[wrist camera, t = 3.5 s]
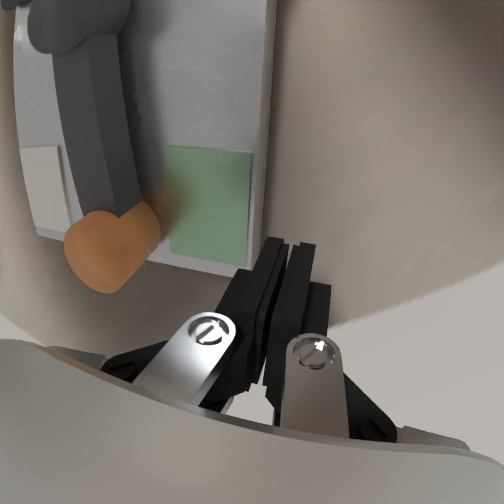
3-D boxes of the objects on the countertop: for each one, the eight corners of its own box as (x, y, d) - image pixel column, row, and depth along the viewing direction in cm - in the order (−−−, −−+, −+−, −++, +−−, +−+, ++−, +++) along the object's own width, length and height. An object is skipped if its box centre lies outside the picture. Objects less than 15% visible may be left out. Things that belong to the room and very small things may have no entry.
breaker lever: (65, -6, 8) (16, -8, 6) (129, -37, 8) (80, -53, 5) (110, 254, 15) (75, 288, 13) (171, 258, 14) (138, 298, 12)
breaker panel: (43, -13, 10) (15, -14, 8) (280, -70, 8) (270, -93, 6) (56, 221, 19) (34, 237, 17) (259, 257, 16) (248, 284, 14)
